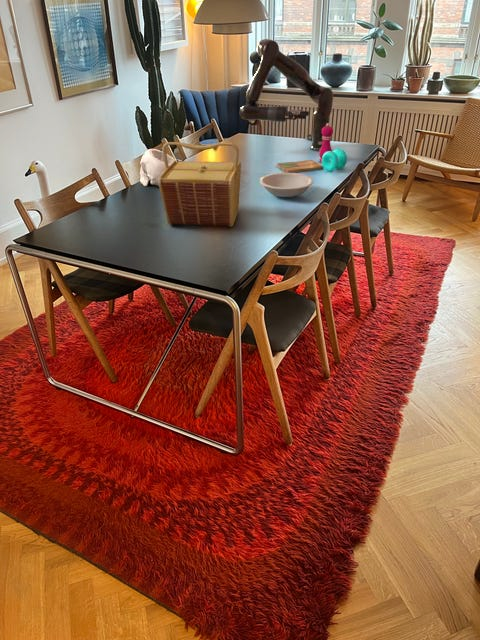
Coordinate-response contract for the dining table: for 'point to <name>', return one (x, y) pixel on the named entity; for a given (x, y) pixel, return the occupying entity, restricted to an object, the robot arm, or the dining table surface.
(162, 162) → the skull planter
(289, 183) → the soup bowl
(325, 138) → the pepper mill
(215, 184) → the picnic basket
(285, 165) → the oak board
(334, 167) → the turquoise spool
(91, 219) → the dining table surface
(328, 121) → the robot arm
